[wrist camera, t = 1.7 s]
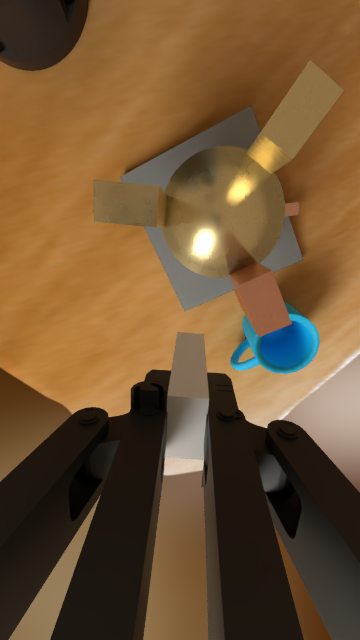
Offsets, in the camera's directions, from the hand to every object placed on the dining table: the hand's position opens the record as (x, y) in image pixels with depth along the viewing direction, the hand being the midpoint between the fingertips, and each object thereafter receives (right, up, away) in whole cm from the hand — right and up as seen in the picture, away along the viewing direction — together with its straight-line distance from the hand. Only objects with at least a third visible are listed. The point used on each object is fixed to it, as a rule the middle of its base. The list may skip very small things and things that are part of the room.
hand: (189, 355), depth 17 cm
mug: (+12, 0, +28) cm, 30 cm away
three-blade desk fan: (+5, +11, +14) cm, 19 cm away
